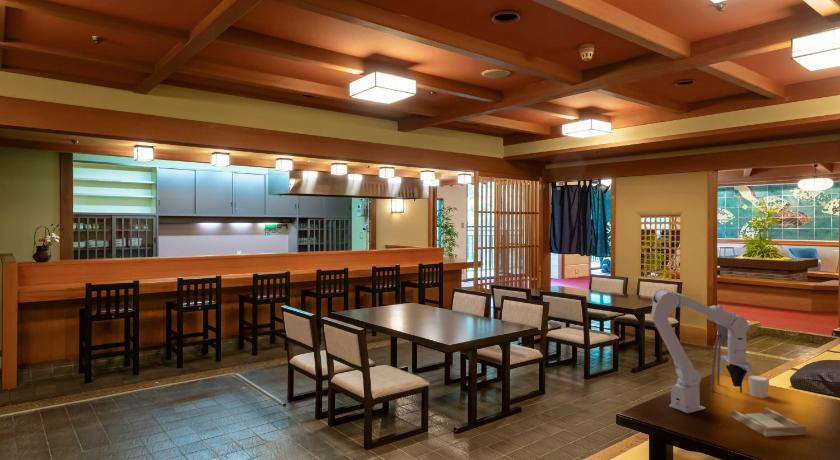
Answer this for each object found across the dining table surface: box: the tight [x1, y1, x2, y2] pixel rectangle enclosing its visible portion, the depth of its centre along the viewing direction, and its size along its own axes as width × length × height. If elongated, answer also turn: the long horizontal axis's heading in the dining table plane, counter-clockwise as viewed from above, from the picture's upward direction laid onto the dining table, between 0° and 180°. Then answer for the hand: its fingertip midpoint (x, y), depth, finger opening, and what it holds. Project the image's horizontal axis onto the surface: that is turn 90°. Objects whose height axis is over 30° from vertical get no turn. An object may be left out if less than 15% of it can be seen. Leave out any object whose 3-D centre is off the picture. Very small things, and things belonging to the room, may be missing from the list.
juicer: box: [710, 323, 743, 394], centre depth 206 cm, size 10×11×30 cm
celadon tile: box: [744, 412, 774, 422], centre depth 174 cm, size 6×6×2 cm
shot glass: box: [747, 375, 770, 398], centre depth 197 cm, size 7×7×7 cm
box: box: [730, 407, 807, 438], centre depth 170 cm, size 16×13×2 cm
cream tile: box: [757, 420, 785, 427], centre depth 168 cm, size 6×6×2 cm
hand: (737, 386), depth 184 cm, fingers closed
